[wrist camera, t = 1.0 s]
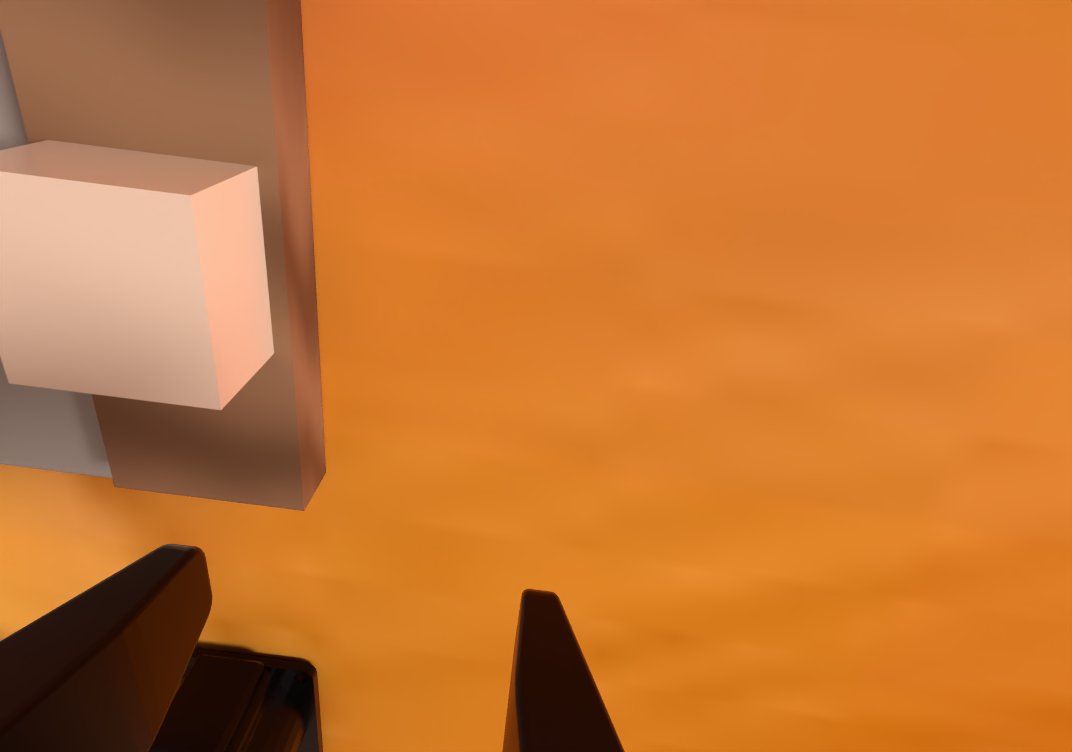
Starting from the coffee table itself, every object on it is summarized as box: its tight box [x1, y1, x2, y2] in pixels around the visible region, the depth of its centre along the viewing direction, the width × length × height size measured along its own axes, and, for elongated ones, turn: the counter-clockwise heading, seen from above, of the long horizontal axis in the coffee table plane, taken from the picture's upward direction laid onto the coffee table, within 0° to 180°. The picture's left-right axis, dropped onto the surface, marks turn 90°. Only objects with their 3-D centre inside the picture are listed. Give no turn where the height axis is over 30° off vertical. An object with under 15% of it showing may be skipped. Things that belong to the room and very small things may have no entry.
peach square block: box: [0, 140, 274, 410], centre depth 15 cm, size 5×5×3 cm
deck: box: [0, 0, 326, 511], centre depth 18 cm, size 16×6×2 cm, turn 174°
